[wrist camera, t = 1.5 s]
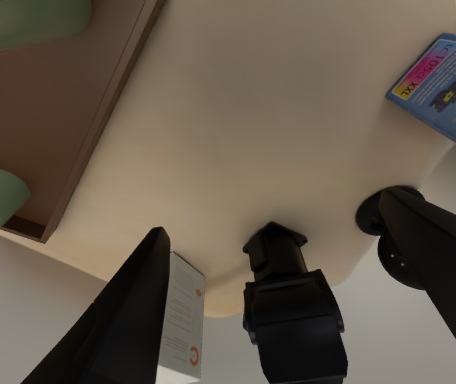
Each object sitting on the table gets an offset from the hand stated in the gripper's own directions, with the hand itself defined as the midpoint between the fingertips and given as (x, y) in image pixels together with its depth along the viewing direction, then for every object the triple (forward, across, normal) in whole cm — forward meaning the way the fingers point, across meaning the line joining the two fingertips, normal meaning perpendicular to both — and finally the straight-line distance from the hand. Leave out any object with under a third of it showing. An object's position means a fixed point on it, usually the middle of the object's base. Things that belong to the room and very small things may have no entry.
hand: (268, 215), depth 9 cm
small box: (+13, +14, +23) cm, 30 cm away
